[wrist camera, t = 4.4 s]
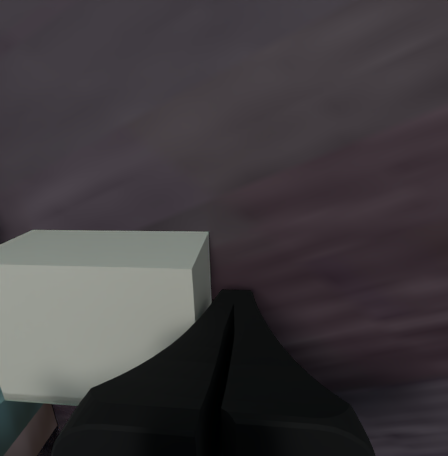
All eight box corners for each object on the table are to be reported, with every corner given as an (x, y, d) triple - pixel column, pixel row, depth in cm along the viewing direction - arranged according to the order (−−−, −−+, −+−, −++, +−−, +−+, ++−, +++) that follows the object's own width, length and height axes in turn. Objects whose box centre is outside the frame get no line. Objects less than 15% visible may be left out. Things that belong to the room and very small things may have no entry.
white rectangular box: (213, 348, 14) (201, 415, 11) (59, 341, 15) (5, 400, 12) (208, 231, 12) (191, 269, 9) (32, 229, 13) (-42, 263, 10)
